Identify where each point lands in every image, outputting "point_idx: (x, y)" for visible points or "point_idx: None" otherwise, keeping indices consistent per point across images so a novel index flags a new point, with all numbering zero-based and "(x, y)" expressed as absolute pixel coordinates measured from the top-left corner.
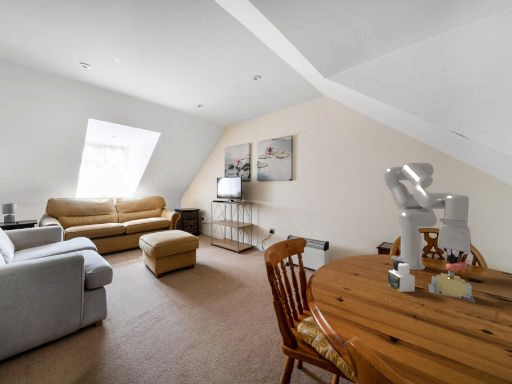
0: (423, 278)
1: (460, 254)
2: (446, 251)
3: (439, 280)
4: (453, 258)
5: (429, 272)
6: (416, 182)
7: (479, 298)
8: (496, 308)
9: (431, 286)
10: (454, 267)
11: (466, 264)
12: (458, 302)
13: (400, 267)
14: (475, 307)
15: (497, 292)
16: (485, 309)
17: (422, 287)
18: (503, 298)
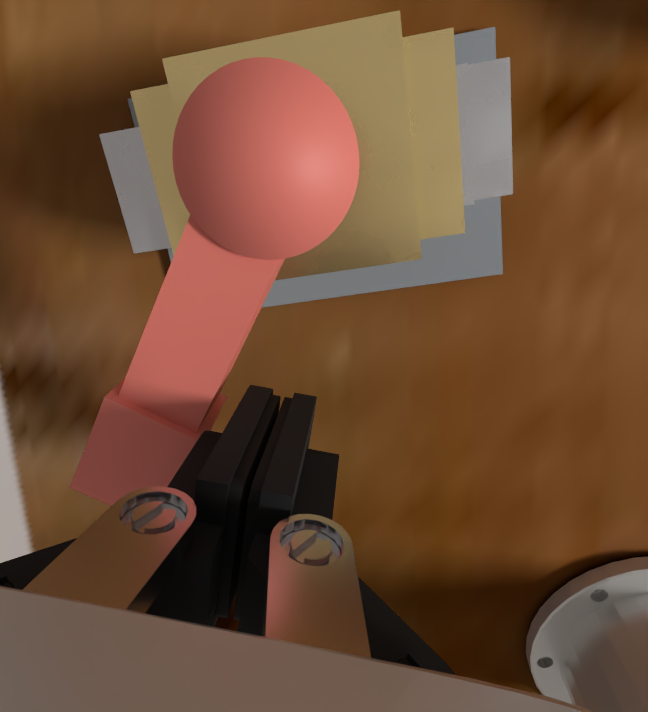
0: (537, 415)
1: (47, 558)
2: (374, 619)
3: (425, 39)
4: (234, 450)
5: (488, 587)
6: None
7: (132, 271)
8: (13, 141)
9: (475, 216)
10: (202, 88)
11: (84, 458)
12: (246, 9)
13: None
14: (124, 8)
15: (67, 489)
16: (63, 34)
17: (552, 154)
18: (22, 401)
